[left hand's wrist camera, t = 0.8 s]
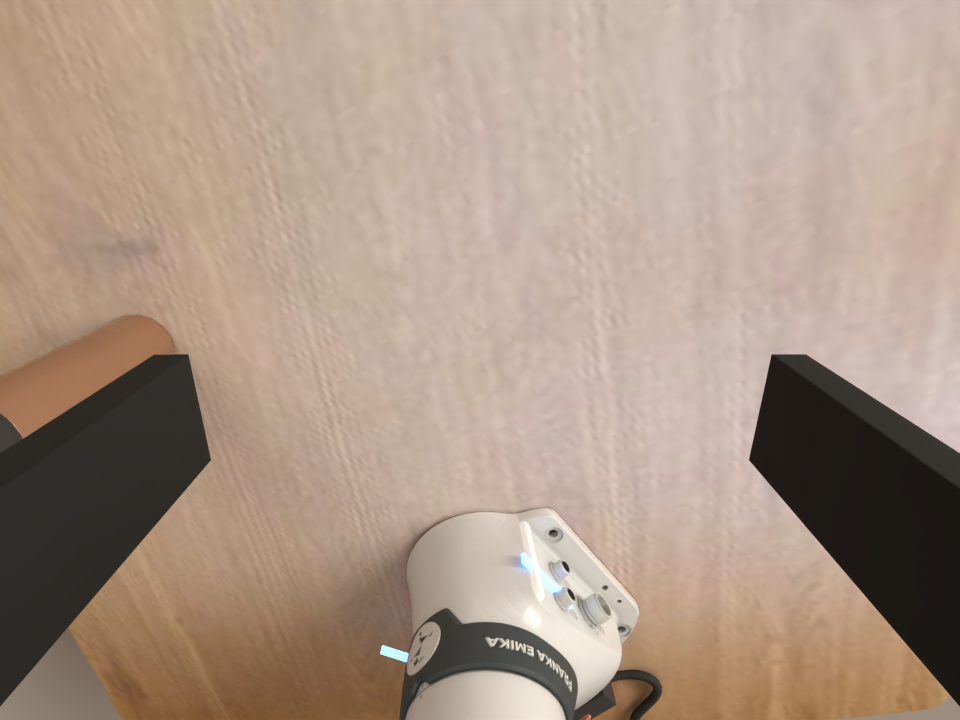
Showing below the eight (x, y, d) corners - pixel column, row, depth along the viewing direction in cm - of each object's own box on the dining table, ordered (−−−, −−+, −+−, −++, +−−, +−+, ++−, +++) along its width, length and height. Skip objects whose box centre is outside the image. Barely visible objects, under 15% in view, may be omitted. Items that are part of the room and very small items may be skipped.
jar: (103, 359, 42) (-121, 486, 26) (116, 304, 40) (-115, 404, 25) (166, 383, 43) (-16, 521, 27) (181, 330, 41) (-3, 444, 26)
